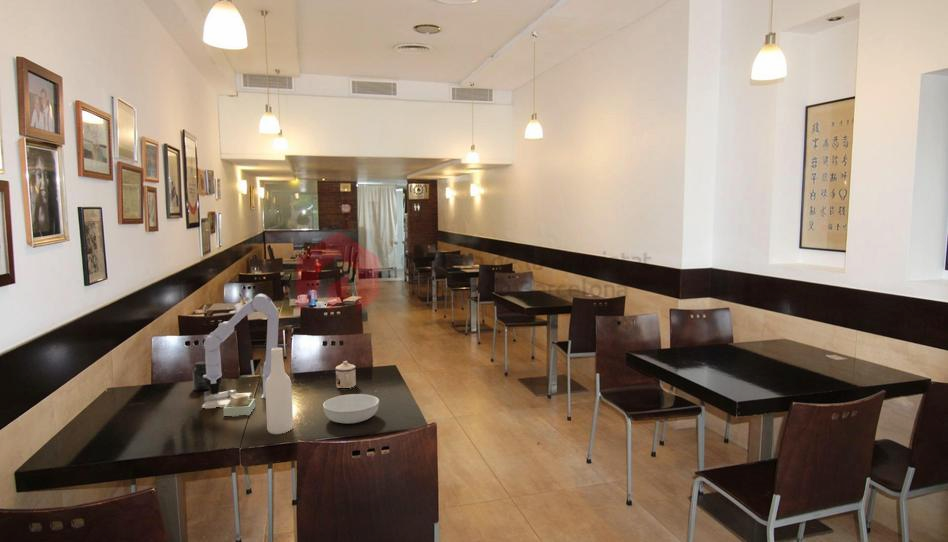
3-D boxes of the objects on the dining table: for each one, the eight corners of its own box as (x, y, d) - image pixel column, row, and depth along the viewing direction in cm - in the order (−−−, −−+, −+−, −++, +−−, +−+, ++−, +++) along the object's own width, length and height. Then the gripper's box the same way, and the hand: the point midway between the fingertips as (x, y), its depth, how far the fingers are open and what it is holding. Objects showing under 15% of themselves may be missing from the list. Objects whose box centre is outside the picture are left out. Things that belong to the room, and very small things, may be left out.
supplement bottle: (213, 386, 252) (212, 361, 251) (204, 391, 245) (203, 365, 244) (199, 386, 253) (197, 360, 252) (190, 391, 246) (188, 364, 245)
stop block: (243, 407, 223) (242, 392, 222) (248, 410, 219) (248, 395, 218) (231, 410, 219) (230, 395, 218) (235, 413, 216) (235, 398, 215)
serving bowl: (390, 415, 214) (390, 398, 213) (353, 434, 196) (352, 415, 195) (350, 406, 224) (350, 390, 223) (311, 423, 206) (310, 405, 206)
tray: (255, 406, 224) (254, 398, 224) (250, 415, 215) (249, 406, 215) (230, 408, 223) (229, 400, 222) (223, 417, 213) (223, 408, 213)
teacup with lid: (334, 384, 254) (334, 359, 252) (355, 382, 256) (354, 358, 255) (337, 392, 242) (336, 366, 241) (358, 390, 245) (357, 364, 244)
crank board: (251, 395, 239) (251, 391, 239) (244, 406, 226) (243, 402, 226) (212, 397, 237) (211, 394, 237) (202, 408, 223) (201, 405, 223)
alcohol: (287, 423, 206) (283, 344, 203) (297, 430, 199) (293, 348, 196) (263, 429, 200) (259, 348, 197) (273, 436, 193) (269, 352, 191)
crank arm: (235, 393, 237) (235, 386, 236) (237, 396, 234) (236, 388, 233) (203, 399, 230) (203, 391, 230) (205, 401, 227) (204, 393, 227)
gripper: (203, 361, 236) (205, 392, 237) (201, 369, 222) (203, 402, 224) (221, 359, 238) (223, 390, 240) (220, 367, 225) (222, 400, 226)
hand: (215, 395), depth 232 cm, fingers closed, pressing on crank arm
